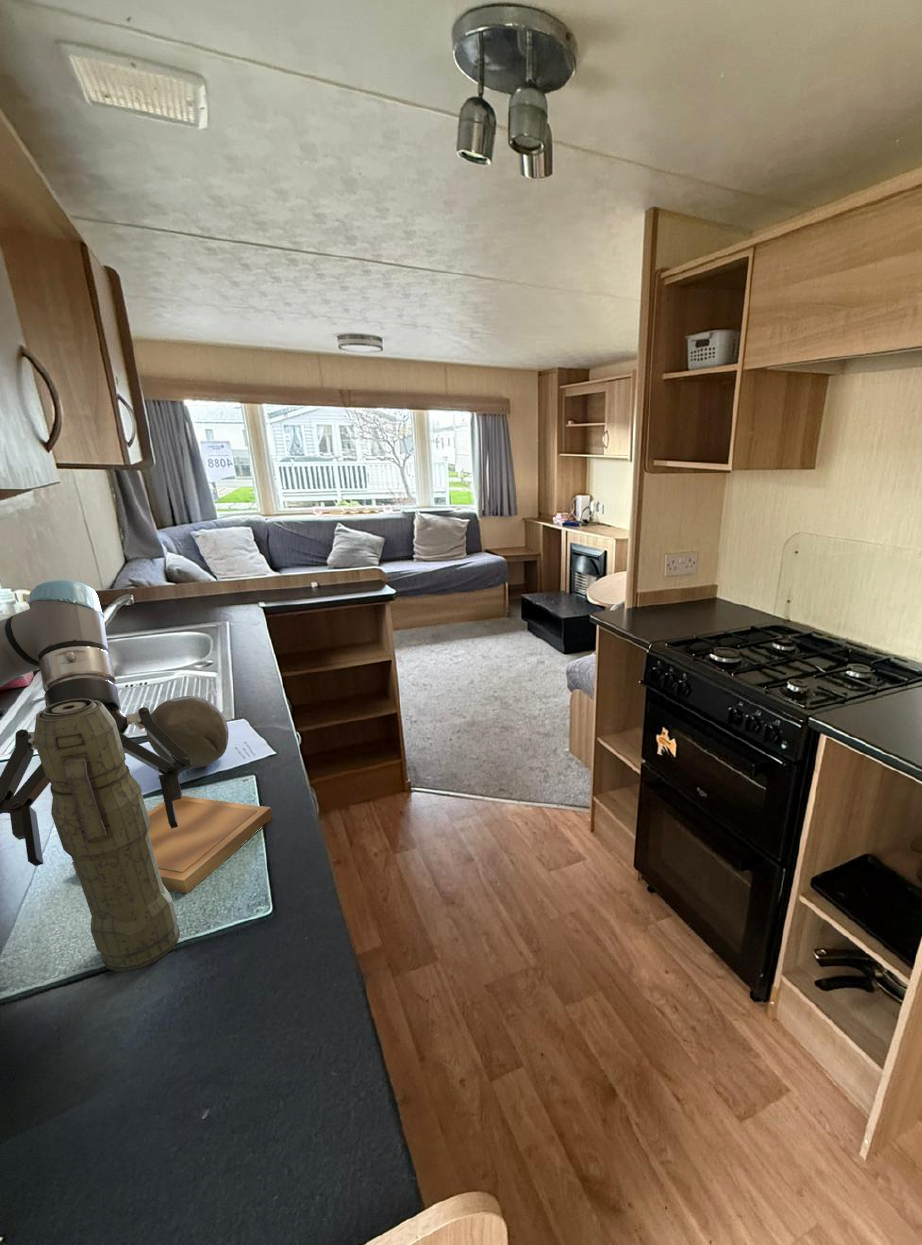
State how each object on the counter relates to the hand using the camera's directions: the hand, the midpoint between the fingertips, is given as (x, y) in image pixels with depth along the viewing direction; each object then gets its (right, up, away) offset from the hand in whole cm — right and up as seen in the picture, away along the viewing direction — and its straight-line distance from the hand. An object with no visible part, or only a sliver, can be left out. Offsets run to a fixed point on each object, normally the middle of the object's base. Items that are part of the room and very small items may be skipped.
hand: (108, 843), depth 74 cm
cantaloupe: (-22, +2, +54) cm, 58 cm away
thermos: (-1, -16, +8) cm, 18 cm away
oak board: (-9, -8, +29) cm, 31 cm away
